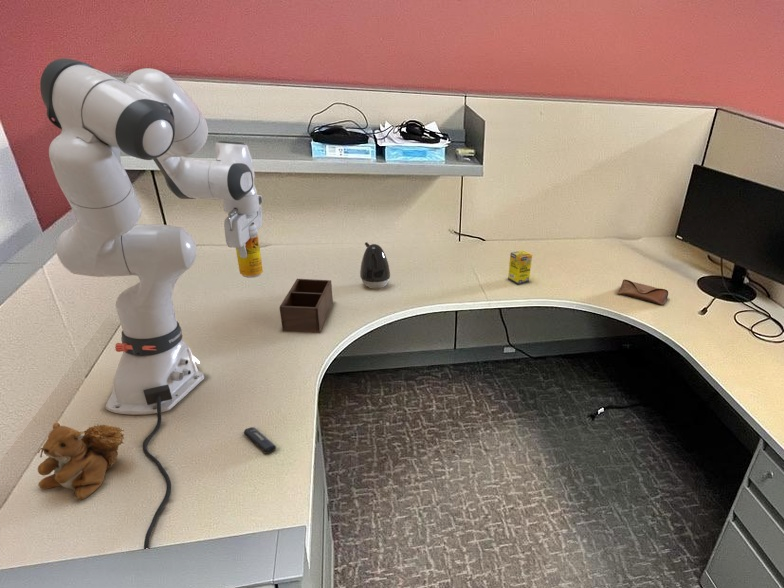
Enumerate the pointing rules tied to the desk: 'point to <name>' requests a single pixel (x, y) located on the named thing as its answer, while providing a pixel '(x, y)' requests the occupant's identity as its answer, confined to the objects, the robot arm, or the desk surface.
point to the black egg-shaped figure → (374, 267)
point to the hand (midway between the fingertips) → (248, 252)
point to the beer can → (251, 256)
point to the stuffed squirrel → (79, 457)
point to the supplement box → (519, 267)
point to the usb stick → (259, 440)
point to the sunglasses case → (643, 292)
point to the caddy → (306, 305)
